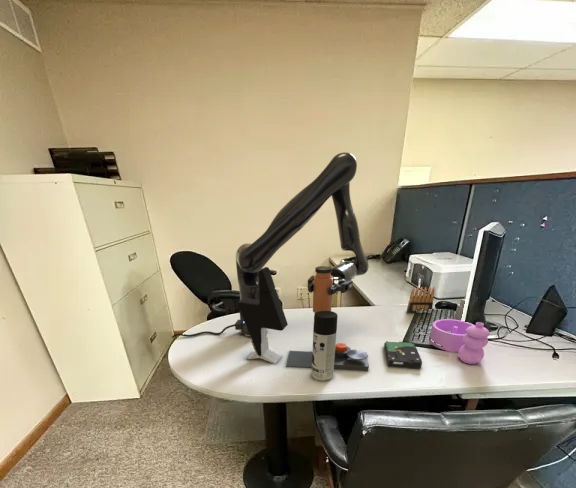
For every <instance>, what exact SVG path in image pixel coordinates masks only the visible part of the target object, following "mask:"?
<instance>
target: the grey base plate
mask: <svg viewBox="0 0 576 488" xmlns="http://www.w3.org/2000/svg"><path fill="white" fill-rule="evenodd" d="M349 350H352V349H351V347H350V346H348V345H347V350H346V351H345V352H338V351H336V345H335V358H334V370H339V371H355V372H357V371H358V372H369V369H370V368H369V362H368V357H367V358H366V359H364V360H353V359H350V358H348V357H347V355H346V353H347V352H348V351H349Z"/></svg>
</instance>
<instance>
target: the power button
mask: <svg viewBox="0 0 576 488" xmlns="http://www.w3.org/2000/svg"><path fill="white" fill-rule="evenodd" d="M347 346H348V345H347V344H346V343H343V342H338V343H336V351H338V352H345V351H346V350H347Z"/></svg>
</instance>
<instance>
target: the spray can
mask: <svg viewBox="0 0 576 488" xmlns="http://www.w3.org/2000/svg"><path fill="white" fill-rule="evenodd" d="M313 315H314V316H313V328H312V329H313V330H312V351H311V352H312V368H311V376H312V378H313V379H314V380H316V381H320V382H326V381H330V380H331V379H333V377H334V371H335V369H334V358H335V345H336V344H337V332H338V313H337V312H335V311H332V310H331V311H318V312H316V313H314V314H313Z"/></svg>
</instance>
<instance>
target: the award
mask: <svg viewBox="0 0 576 488" xmlns="http://www.w3.org/2000/svg"><path fill="white" fill-rule="evenodd" d="M259 291H260V292H259V300H256V299H248V298H243V299H242V300H240V299H239V301H238V302H237V303H236V304H237V307H238V310H239V313H240V312H241V315H242V317H243V320H244V322H245V324H246V327H247V329H248V332H249V334H250V336H251V337H250V339H251V341H250V343H251V345H252V349H253V350H254V351H253V352H252V353H251V354H250V355H249V356H248V357H247V358H246V360H255V359H262V360H264V361H266V362H268V363H271V364H274V365H276V364H277V363H278V362H279V360H280V359H281V358H282V356H281V355H279V354H277V353H276V352H274V351H273V350H272V349H270V347H269V337H268V336H267V329H268V330H273V331H274V330H275V331H280V332H282V331H284V330H285V328H286V327H287V326H288V321H287V317H286V314H285V312H284V308H283V305H282V303H281V299H280V297H279V294H278V291H277V288H276V285H275V283H274V279H273V276H272V273H271V270H270V267H268V266H264V267H263V268H262V269H261V270H259Z"/></svg>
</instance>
